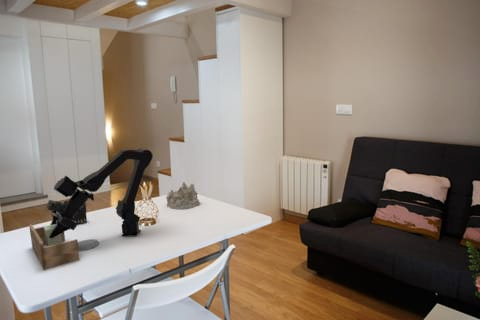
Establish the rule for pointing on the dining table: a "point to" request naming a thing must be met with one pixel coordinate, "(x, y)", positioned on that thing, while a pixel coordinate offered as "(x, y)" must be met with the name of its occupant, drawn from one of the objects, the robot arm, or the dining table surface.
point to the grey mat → (87, 244)
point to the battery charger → (81, 216)
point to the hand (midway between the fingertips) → (48, 235)
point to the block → (47, 233)
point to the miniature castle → (183, 198)
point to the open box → (53, 249)
